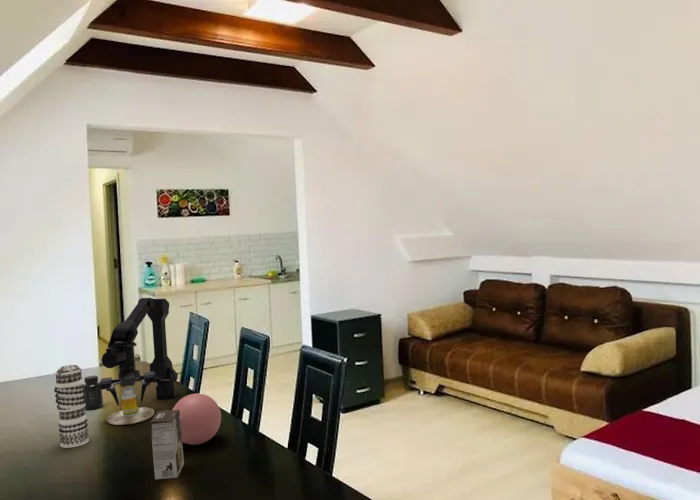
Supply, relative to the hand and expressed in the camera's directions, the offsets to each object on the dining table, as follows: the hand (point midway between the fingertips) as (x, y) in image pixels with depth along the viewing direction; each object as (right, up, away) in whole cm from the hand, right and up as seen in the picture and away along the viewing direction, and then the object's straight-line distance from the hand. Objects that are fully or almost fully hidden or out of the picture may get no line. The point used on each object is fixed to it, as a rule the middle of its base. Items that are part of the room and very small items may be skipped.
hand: (130, 403), depth 214 cm
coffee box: (+29, -6, -49) cm, 57 cm away
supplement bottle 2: (0, -4, 0) cm, 4 cm away
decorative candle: (-10, -7, -21) cm, 25 cm away
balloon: (+30, -5, -30) cm, 42 cm away
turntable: (0, -5, 0) cm, 5 cm away
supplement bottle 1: (-20, -6, +16) cm, 27 cm away
